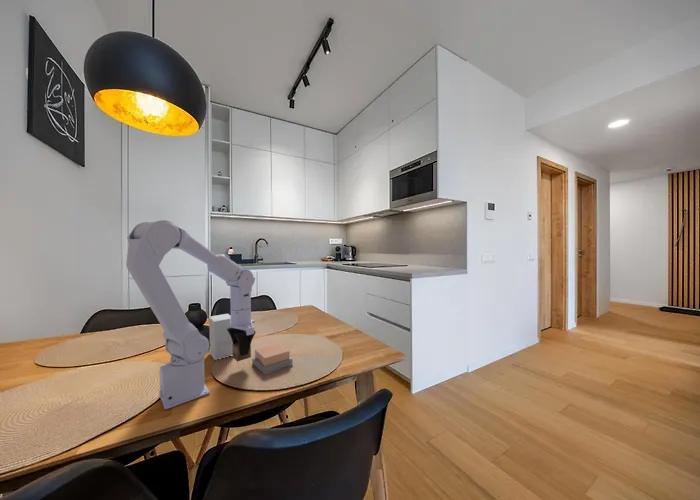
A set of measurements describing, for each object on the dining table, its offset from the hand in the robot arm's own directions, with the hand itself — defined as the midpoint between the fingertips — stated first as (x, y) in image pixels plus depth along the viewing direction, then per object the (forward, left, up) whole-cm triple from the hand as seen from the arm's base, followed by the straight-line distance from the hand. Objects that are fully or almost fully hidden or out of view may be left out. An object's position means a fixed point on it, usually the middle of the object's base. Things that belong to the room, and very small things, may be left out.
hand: (241, 352), depth 79 cm
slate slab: (+8, -4, -6) cm, 11 cm away
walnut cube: (0, 0, -2) cm, 2 cm away
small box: (-1, +15, -5) cm, 16 cm away
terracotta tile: (+8, -4, -3) cm, 9 cm away
